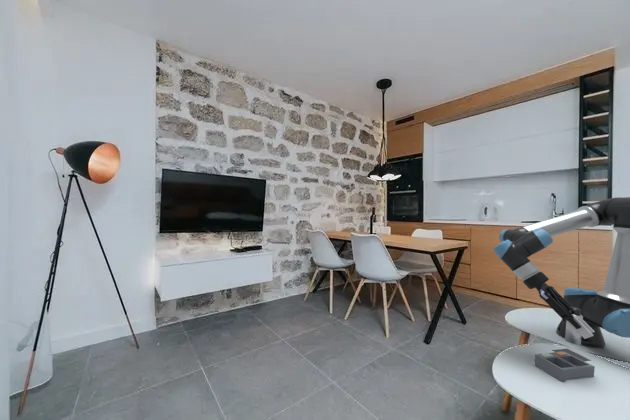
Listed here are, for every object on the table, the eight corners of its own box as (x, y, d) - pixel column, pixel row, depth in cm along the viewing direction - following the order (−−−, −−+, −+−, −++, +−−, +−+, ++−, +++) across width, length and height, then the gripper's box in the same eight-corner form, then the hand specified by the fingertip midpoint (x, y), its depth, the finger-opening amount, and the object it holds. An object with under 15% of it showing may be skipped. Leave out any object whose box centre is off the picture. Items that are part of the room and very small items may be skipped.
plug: (570, 338, 93) (572, 306, 93) (584, 344, 89) (586, 310, 89) (562, 339, 92) (564, 306, 92) (575, 345, 88) (577, 311, 88)
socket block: (563, 361, 97) (564, 350, 97) (593, 377, 88) (594, 365, 88) (534, 364, 94) (535, 353, 94) (562, 381, 85) (563, 368, 85)
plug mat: (566, 349, 105) (567, 348, 105) (591, 361, 97) (591, 360, 97) (551, 351, 104) (551, 350, 104) (574, 363, 96) (575, 362, 96)
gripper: (527, 277, 107) (580, 332, 95) (516, 284, 97) (575, 347, 84) (544, 267, 103) (603, 324, 91) (535, 273, 92) (600, 338, 80)
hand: (589, 335), depth 88 cm, fingers closed on plug, 4 cm apart
